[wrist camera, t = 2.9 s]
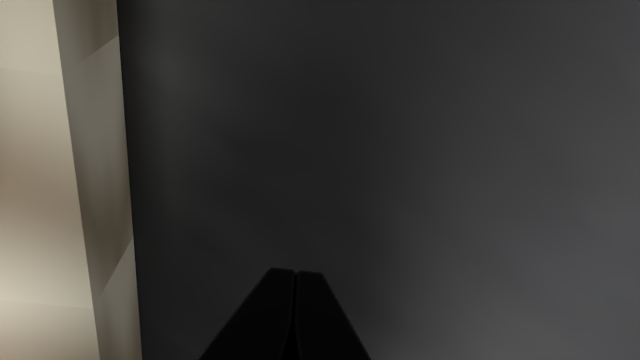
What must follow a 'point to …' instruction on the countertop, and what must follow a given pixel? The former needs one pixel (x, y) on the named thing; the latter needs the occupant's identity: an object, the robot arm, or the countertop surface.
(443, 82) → the countertop surface
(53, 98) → the box
